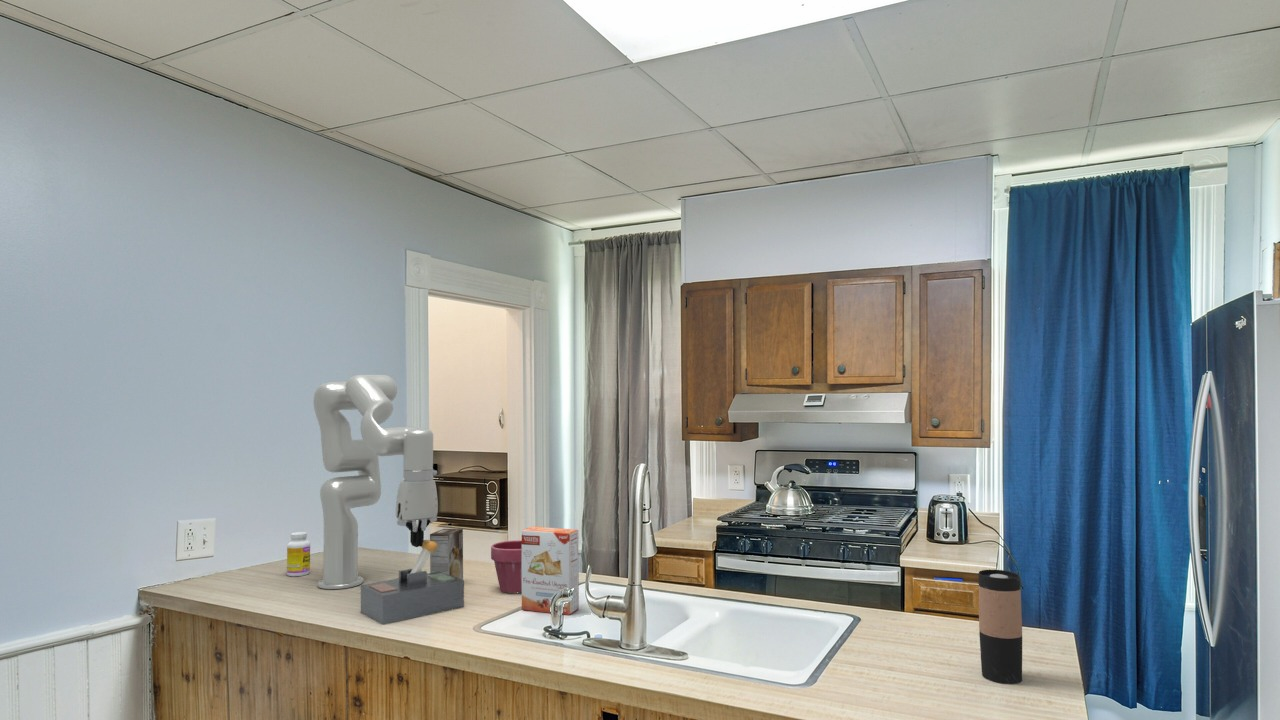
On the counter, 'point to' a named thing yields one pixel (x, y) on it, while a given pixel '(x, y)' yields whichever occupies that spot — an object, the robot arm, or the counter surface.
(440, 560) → the coffee box
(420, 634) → the counter surface
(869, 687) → the counter surface
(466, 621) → the counter surface
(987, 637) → the travel mug
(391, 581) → the breaker box
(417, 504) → the robot arm
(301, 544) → the supplement bottle
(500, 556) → the plant pot
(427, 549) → the breaker lever
